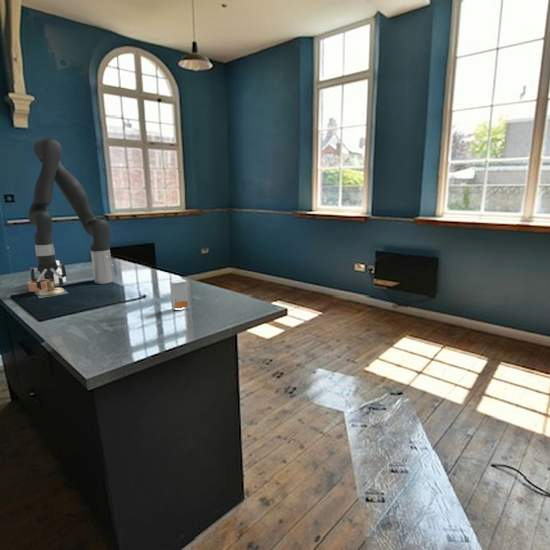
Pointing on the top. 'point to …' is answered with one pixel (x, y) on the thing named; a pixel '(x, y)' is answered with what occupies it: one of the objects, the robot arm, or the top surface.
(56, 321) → the top surface
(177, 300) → the skincare box
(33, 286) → the bowl
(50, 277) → the medicine bottle
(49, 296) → the mat
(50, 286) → the lid
